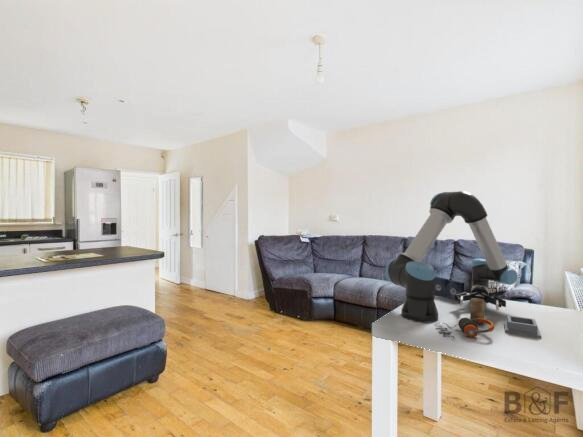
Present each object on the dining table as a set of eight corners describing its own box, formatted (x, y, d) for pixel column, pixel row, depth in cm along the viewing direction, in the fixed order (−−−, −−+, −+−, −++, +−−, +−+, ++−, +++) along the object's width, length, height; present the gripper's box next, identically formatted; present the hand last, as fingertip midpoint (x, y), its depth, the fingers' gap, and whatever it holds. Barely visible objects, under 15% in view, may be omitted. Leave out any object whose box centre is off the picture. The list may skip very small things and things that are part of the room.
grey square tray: (505, 332, 124) (505, 322, 124) (504, 323, 134) (504, 314, 134) (541, 338, 119) (541, 327, 118) (537, 328, 128) (537, 318, 128)
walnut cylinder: (470, 324, 133) (470, 300, 133) (470, 320, 137) (470, 297, 137) (484, 326, 130) (484, 302, 130) (484, 322, 135) (484, 299, 134)
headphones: (430, 317, 134) (481, 309, 130) (433, 330, 134) (485, 322, 130) (441, 333, 117) (500, 324, 113) (444, 347, 117) (504, 339, 113)
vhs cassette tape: (464, 301, 166) (464, 282, 166) (460, 302, 164) (460, 283, 164) (434, 293, 182) (434, 275, 182) (430, 294, 181) (430, 276, 181)
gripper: (510, 305, 152) (513, 318, 134) (451, 297, 165) (447, 308, 147) (510, 289, 152) (513, 300, 134) (451, 283, 165) (447, 292, 147)
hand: (478, 304), depth 140 cm, fingers open, 13 cm apart
